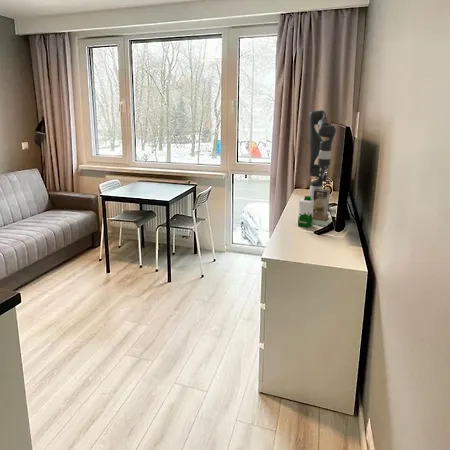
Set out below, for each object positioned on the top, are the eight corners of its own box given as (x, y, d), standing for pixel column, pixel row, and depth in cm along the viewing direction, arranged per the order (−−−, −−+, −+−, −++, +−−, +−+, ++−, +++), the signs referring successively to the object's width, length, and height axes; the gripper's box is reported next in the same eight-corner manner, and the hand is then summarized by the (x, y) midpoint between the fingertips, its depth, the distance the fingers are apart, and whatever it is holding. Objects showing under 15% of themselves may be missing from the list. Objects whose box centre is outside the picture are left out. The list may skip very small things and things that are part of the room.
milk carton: (313, 226, 253) (315, 196, 247) (309, 230, 246) (311, 199, 240) (300, 224, 257) (302, 195, 251) (295, 227, 250) (298, 197, 244)
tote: (311, 220, 267) (312, 214, 266) (331, 223, 260) (331, 217, 259) (306, 224, 257) (306, 218, 256) (326, 227, 251) (326, 221, 249)
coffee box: (311, 213, 256) (313, 190, 252) (314, 211, 262) (316, 188, 257) (324, 216, 252) (327, 191, 247) (327, 213, 257) (330, 190, 252)
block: (313, 219, 264) (314, 211, 262) (327, 222, 259) (328, 213, 258) (309, 222, 257) (310, 214, 256) (324, 225, 253) (325, 216, 251)
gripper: (321, 156, 253) (319, 180, 258) (315, 158, 241) (313, 184, 246) (333, 157, 250) (331, 181, 255) (327, 159, 238) (324, 185, 243)
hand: (322, 182), depth 250 cm, fingers open, 8 cm apart
